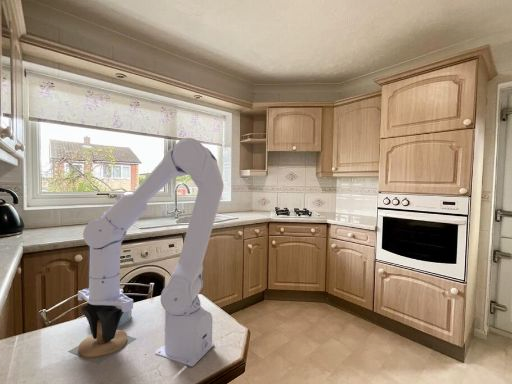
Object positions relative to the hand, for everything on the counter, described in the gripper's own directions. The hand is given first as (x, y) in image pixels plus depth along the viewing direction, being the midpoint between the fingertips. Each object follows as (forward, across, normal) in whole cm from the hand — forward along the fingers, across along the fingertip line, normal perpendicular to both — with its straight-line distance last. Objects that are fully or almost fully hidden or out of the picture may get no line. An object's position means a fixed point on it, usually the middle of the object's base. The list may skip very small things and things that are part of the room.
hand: (103, 338), depth 55 cm
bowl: (+2, +8, -8) cm, 11 cm away
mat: (+2, 0, 0) cm, 2 cm away
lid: (+1, 0, 0) cm, 1 cm away
